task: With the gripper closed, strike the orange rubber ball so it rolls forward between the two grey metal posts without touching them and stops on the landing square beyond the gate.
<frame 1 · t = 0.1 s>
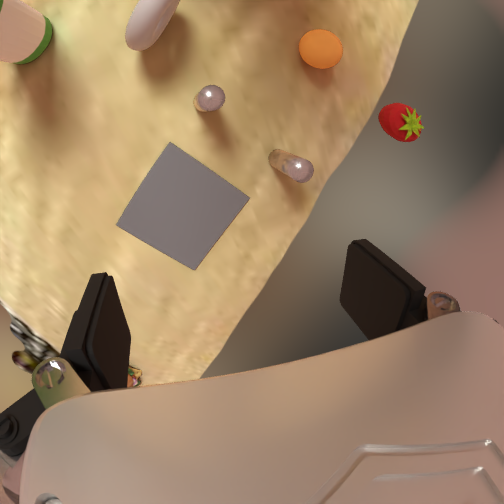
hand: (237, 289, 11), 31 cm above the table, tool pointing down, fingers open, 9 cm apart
strawberry: (380, 119, 42), on the table
donut: (156, 26, 28), on the table
post 1: (203, 101, 35), on the table
ball: (320, 48, 32), on the table
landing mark: (181, 210, 41), on the table
post 2: (277, 158, 41), on the table
hamburger: (122, 375, 53), on the table
wine bottle: (32, 40, 23), on the table
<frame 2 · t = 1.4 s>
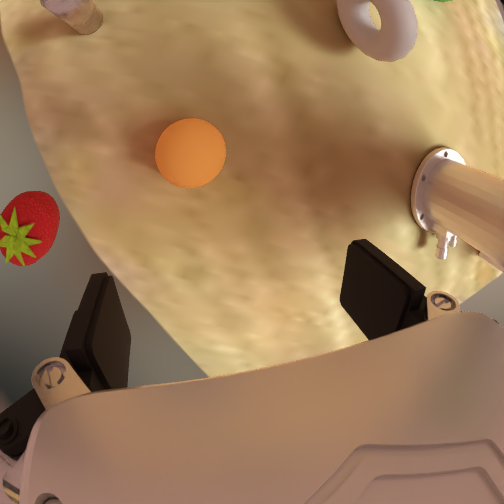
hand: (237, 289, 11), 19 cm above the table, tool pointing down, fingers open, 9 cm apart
strawberry: (48, 208, 25), on the table
donut: (347, 25, 23), on the table
ball: (190, 153, 23), on the table
post 2: (89, 22, 17), on the table
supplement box: (492, 230, 44), on the table
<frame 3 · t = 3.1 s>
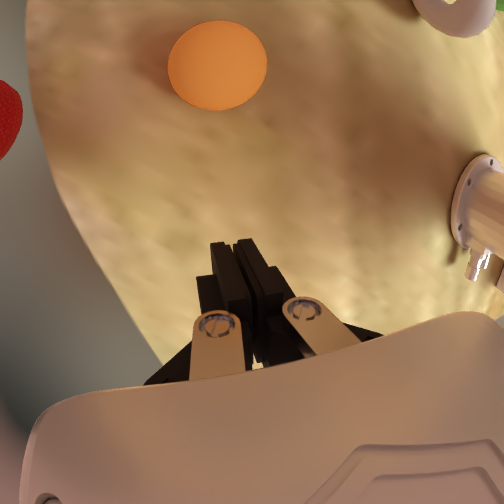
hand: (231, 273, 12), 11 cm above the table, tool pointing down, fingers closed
strawberry: (15, 123, 15), on the table
ball: (217, 64, 15), on the table
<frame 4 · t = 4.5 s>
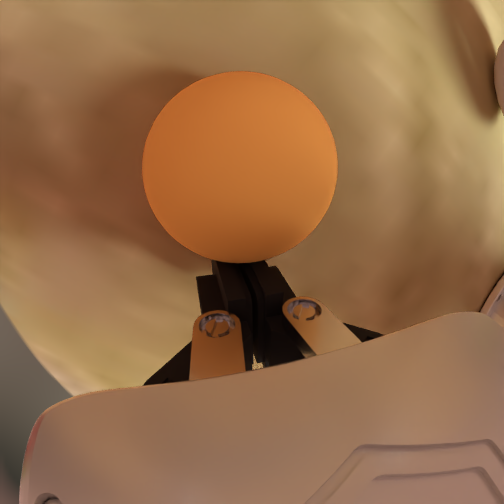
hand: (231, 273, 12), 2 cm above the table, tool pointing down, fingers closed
donut: (494, 83, 13), on the table
ball: (239, 166, 9), on the table
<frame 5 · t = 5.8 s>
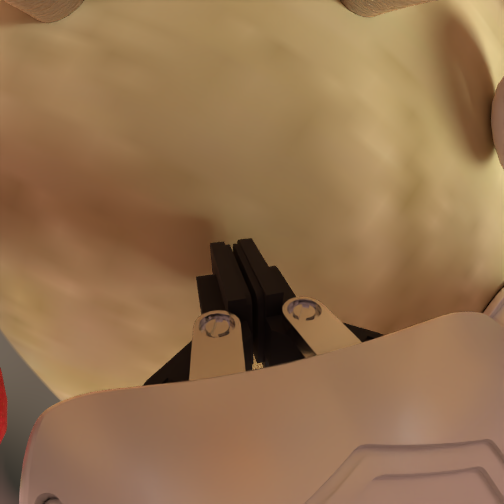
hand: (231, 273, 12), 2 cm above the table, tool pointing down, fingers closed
donut: (490, 121, 14), on the table
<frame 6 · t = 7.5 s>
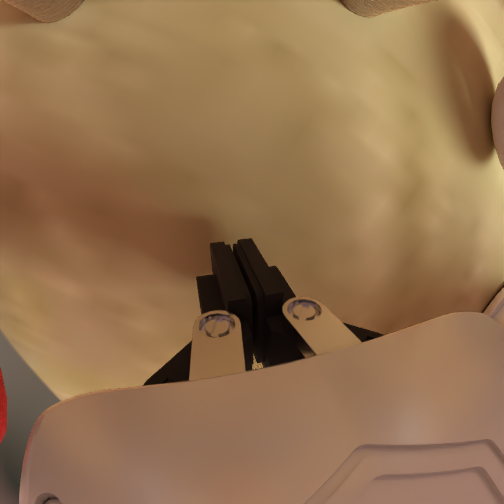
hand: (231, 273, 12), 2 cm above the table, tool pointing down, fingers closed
donut: (490, 121, 14), on the table
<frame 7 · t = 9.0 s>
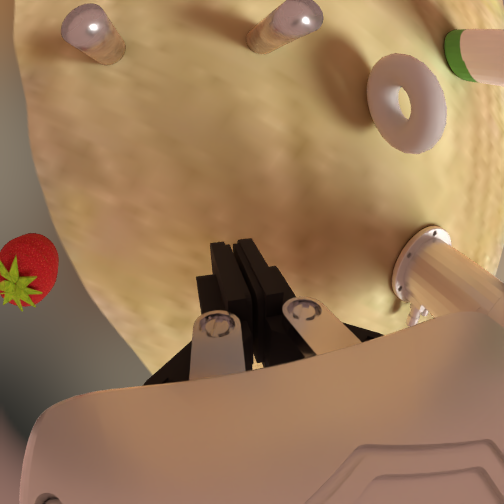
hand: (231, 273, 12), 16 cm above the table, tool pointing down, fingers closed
strawberry: (44, 243, 24), on the table
donut: (371, 100, 26), on the table
post 1: (261, 40, 21), on the table
post 2: (110, 50, 18), on the table
wine bottle: (456, 55, 25), on the table
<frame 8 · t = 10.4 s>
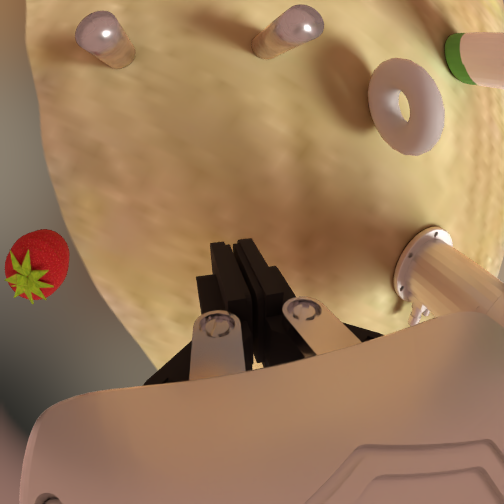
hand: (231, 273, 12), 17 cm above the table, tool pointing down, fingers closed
strawberry: (55, 240, 26), on the table
donut: (373, 104, 27), on the table
post 1: (266, 46, 22), on the table
post 2: (120, 54, 20), on the table
wine bottle: (456, 58, 26), on the table
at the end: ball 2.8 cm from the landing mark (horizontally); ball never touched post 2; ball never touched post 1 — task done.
